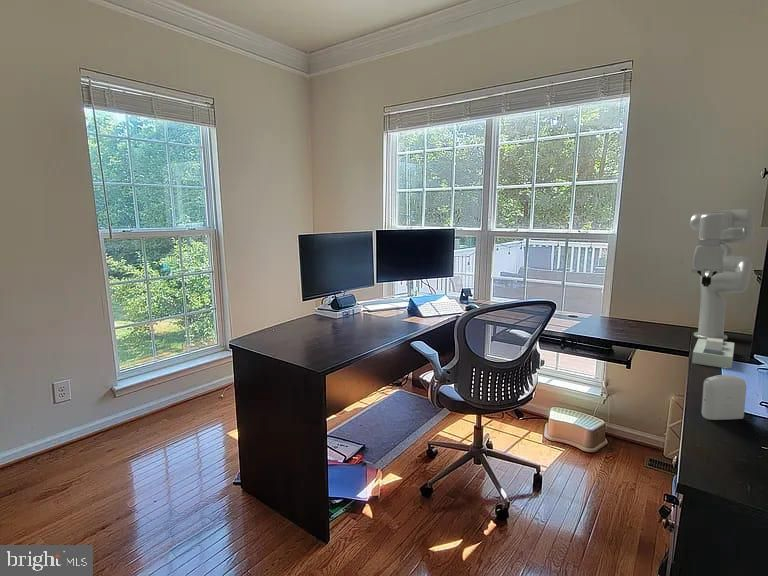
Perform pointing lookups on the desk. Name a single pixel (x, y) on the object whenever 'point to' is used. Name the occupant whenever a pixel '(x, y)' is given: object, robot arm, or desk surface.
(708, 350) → the slate key
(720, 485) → the desk surface
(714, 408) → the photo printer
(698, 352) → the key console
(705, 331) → the robot arm
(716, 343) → the white key
